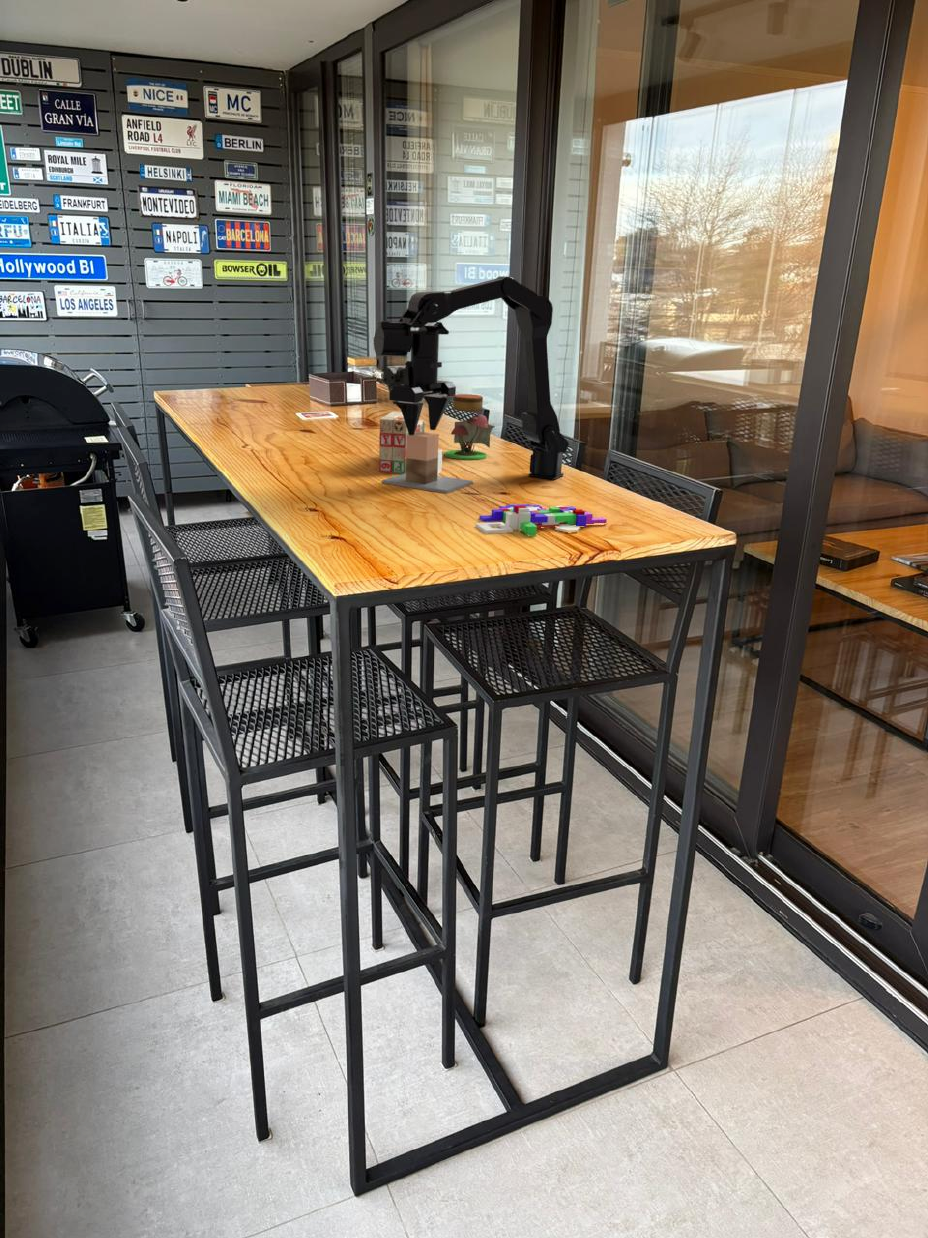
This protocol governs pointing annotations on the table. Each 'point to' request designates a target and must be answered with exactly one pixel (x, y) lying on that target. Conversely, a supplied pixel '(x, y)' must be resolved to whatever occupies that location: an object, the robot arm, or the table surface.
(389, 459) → the stack of blocks
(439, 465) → the offwhite brick
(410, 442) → the terracotta brick
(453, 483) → the plate
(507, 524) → the building block set
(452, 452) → the plant figurine
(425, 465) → the walnut brick
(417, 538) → the table surface
